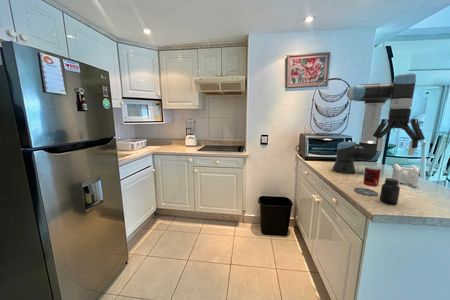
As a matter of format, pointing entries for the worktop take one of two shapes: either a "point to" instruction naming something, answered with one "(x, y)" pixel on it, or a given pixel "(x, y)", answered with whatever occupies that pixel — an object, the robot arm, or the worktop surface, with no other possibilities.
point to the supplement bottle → (390, 192)
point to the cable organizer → (406, 174)
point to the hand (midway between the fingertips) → (393, 152)
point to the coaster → (366, 191)
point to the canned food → (372, 175)
